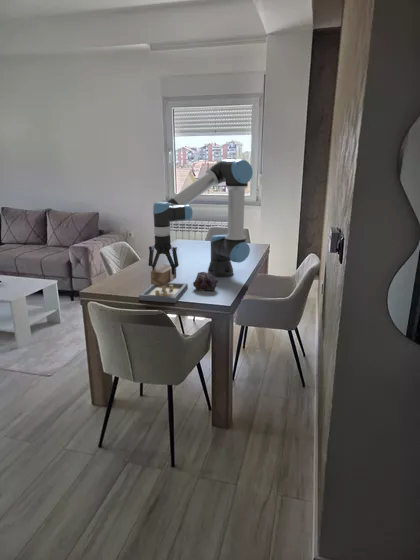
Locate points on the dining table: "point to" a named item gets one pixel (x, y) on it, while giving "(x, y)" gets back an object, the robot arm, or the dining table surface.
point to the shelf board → (161, 275)
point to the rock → (205, 282)
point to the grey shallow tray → (164, 292)
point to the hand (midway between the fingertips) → (164, 280)
